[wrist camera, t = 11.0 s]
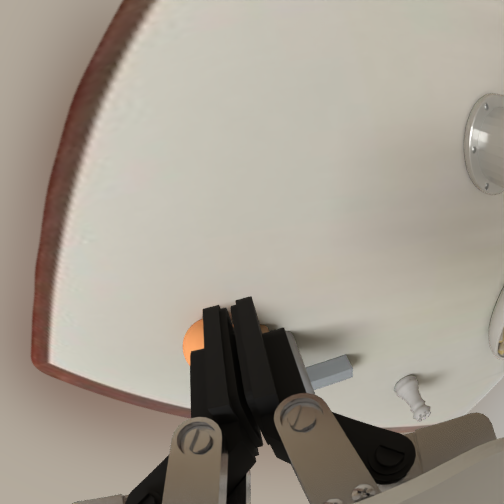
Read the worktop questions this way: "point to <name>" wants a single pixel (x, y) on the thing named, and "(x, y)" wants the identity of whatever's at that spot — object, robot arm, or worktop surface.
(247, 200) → the worktop surface
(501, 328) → the bowl
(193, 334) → the ball
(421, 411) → the rook chess piece
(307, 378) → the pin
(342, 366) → the grey rectangular bar
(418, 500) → the robot arm
